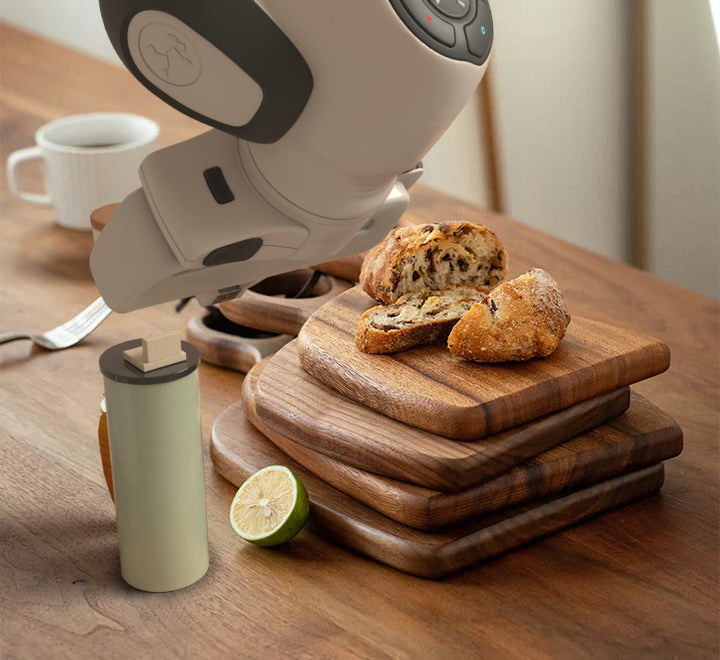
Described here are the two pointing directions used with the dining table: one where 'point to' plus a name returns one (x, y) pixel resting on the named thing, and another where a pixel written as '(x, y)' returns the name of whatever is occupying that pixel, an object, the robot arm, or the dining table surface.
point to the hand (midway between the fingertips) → (214, 293)
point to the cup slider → (157, 351)
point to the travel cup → (157, 468)
